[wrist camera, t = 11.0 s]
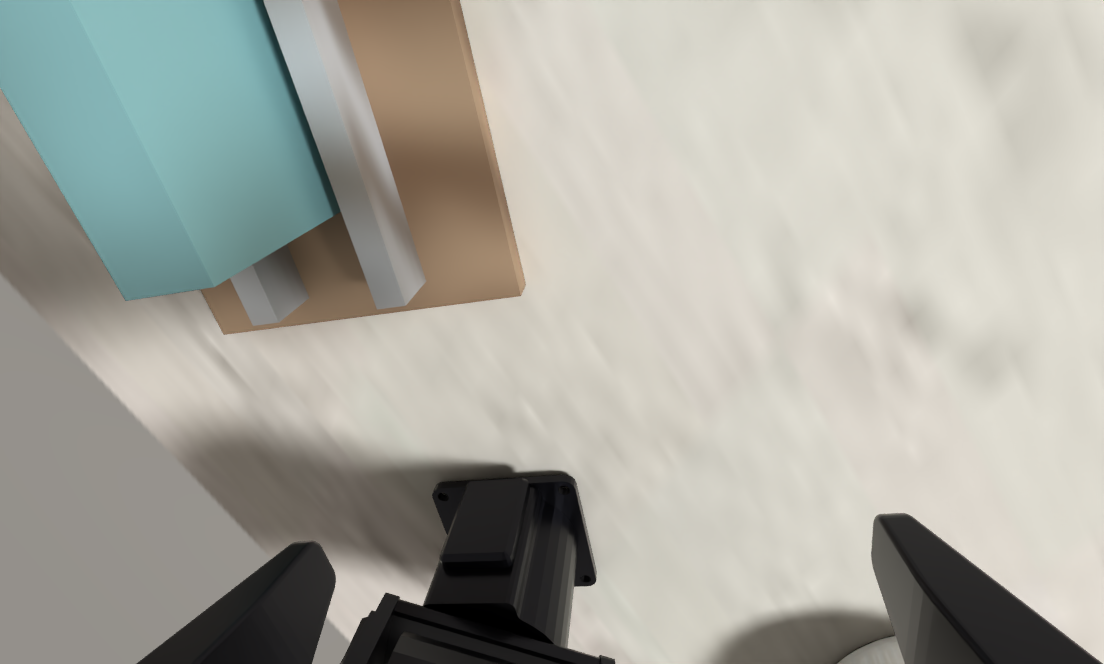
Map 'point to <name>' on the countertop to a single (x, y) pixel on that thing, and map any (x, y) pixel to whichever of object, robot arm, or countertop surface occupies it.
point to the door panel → (166, 133)
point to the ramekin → (876, 653)
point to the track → (384, 171)
